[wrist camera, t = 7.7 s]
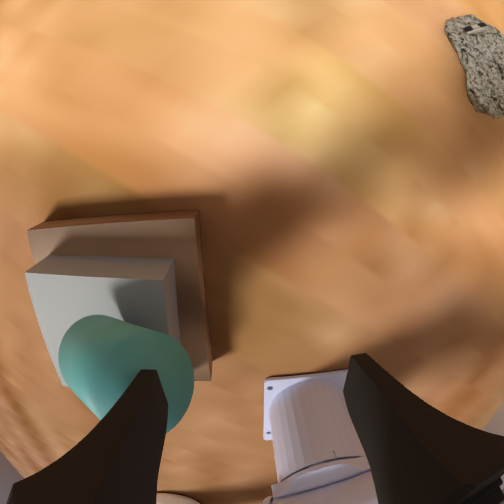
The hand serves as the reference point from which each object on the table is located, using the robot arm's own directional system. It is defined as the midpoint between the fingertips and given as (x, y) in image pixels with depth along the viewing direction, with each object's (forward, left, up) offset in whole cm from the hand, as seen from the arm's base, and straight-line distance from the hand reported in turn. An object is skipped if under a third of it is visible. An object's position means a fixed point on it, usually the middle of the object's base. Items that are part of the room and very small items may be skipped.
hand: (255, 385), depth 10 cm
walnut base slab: (-2, +9, -11) cm, 14 cm away
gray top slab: (-2, +9, -8) cm, 12 cm away
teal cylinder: (-2, +8, -3) cm, 9 cm away
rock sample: (+21, -17, -11) cm, 29 cm away
